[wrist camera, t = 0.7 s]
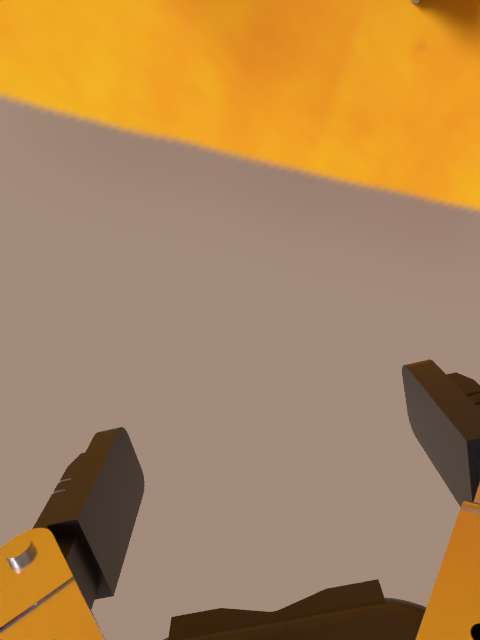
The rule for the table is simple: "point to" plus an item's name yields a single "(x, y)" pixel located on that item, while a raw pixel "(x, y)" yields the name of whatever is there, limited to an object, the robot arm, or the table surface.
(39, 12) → the table surface
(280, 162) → the table surface
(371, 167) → the table surface
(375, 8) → the table surface
